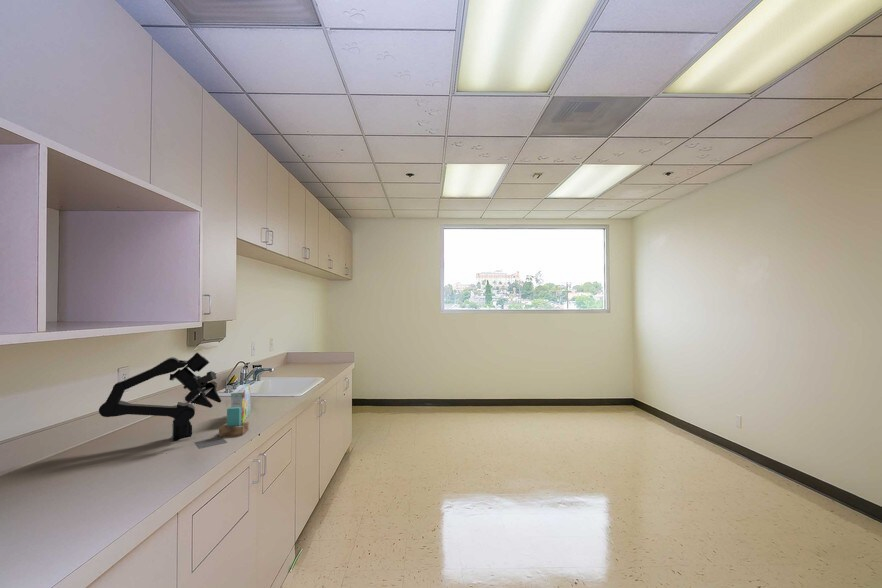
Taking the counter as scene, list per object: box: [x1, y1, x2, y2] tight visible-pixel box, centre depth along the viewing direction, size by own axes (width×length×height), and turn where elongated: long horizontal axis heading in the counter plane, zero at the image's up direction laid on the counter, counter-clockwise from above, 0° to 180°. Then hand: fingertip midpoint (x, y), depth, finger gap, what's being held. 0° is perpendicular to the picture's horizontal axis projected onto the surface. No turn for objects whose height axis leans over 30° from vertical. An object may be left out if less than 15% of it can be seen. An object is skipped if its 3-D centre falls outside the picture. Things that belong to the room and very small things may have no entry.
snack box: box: [230, 383, 252, 423], centre depth 194 cm, size 21×6×15 cm, turn 17°
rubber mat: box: [194, 436, 228, 449], centre depth 157 cm, size 10×10×1 cm
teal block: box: [226, 407, 242, 427], centre depth 169 cm, size 5×2×11 cm, turn 99°
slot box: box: [218, 421, 250, 437], centre depth 169 cm, size 10×7×4 cm
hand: (216, 404), depth 168 cm, fingers open, 9 cm apart
